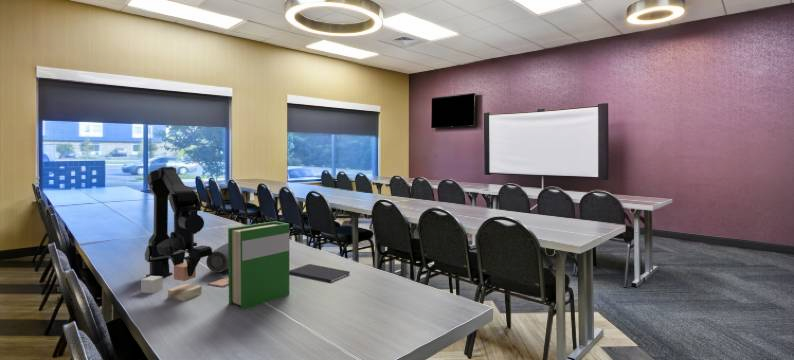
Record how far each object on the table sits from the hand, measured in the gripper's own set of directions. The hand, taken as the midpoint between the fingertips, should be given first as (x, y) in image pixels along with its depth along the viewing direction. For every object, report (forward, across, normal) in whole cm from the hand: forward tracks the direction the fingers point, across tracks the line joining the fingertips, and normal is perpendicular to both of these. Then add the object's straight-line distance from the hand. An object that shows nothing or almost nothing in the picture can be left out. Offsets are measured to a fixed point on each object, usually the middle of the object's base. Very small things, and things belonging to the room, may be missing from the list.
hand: (184, 275), depth 137 cm
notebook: (+8, +26, +40) cm, 48 cm away
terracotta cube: (+1, 0, 0) cm, 1 cm away
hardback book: (+7, +24, +8) cm, 26 cm away
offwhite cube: (+7, -14, -1) cm, 16 cm away
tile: (+7, +1, +15) cm, 16 cm away
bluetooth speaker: (+7, -12, +32) cm, 35 cm away
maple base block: (+7, 0, 0) cm, 7 cm away
